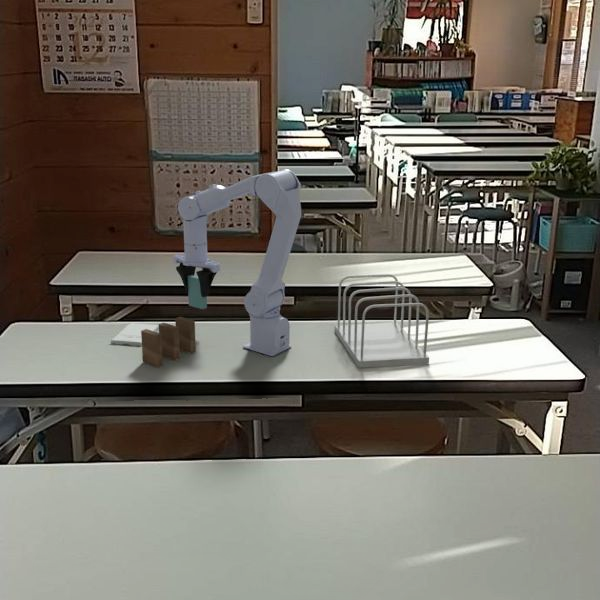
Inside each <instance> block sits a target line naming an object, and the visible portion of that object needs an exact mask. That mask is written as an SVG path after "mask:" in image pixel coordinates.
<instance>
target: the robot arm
mask: <svg viewBox="0 0 600 600" xmlns="http://www.w3.org/2000/svg"><path fill="white" fill-rule="evenodd" d="M301 187H302V184H301V182H300V181H299V178H298V177H297V176H296V174H295V173H294V172H293V171H292V170H290V169H287V168H284V169H281V170H279V171H271V172H266V173H262V174H257V175H256V174H255V175H253V176H249V177H247V178H245V179H243V180H240V181H237V182H236V183H233V184H231V185H228V186H226V187H225V186H224V185H221V184H216V183H214V184H210V185H209V186H208V188H207V189H205V190H202V191H201V190H197V191H195V192H194V195H190V196H183V198H181V199H180V200H179V201H178V204H177V211H178V214H179V215H180V217H181V218H182V219H183V220H182V223H183V243H184V244H183V245H184V246H183V247H184V254H179V253H178V254H175V255H174V254H173V256H172V257H173V263H174V264H179V265H177V266H176V267H175V270H176V272H177V273H178V275H179V276H180V278H181V281H182V284H183V286H184V289H185V293H186V294H188V276H189V275H195V274H196V276H198V278H199V282H200V290H201V296H202V297H206V296H207V297H208V296H210V291H211V287H212V283H213V281H214V279H215V277H216V275H217V273H218V272H220V271H221V263H218V262H215V261H214V260H211V259H210V258H208V237H207V235H208V232H207V231H208V230H207V229H208V228H207V222H208V217H209V215H210V214H213V213H216V212H218V211H221V210H223V209H226V208H228V207H229V206H230V204H231V201H232V200H234V199H237V198H241V197H243V196H247V195H249V194H251V195H253V196H254V197H256V196H257V197H258V199H260V200H261V201H262V202H263V204H264V205H266V207H267V208H268V209H270V210H271V212H272V213H273V214H274V215H275V221H274V225H273V229H272V232H271V235H270V240H269V241H268V246H267V249H266V252H265V256H264V258H263V259H264V260H263V263H262V266H261V270H260V274H259V276H258V277H257V279H256V280H255V281H254V282H253V284H252V285H251V288H250V291H248V293H247V294H246V295H245V296H244V301H243V302H244V303H243V304H244V308H245V310H246V312H248V315H249V319H250V320H249V322H250V324H249V327H250V329H249V332H250V333H249V334H250V336H249V337H250V339H249V341H250V342H248V343H246V344H243V346H242V347H243V348H244V349H247V350H250V351H253V352H257V353H259V354H260V353H261V354H263V355H267V356H270V357H273V356H276V355H278V354H280V353H282V352H284V351H286V350H288V349H290V348H292V345H291V344H290V333H291V332H290V330H291V329H290V328H291V326H290V322H289V320H288V319H287V318H286V317H283V316H282V315H281V314H280V311H281V306H282V305H283V304H284V302H285V300H286V299H285V298H286V297H285V294H286V293H285V287H286V283H285V281H284V280H283V277H284V274H285V270H286V268H287V263H288V260H289V257H290V254H291V251H292V247H293V244H294V240H295V238H296V233H297V230H298V227H299V225H300V220H301V218H302V205H301V197H300V191H301ZM196 268H199V269H201V270H198V271H196Z"/></svg>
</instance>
